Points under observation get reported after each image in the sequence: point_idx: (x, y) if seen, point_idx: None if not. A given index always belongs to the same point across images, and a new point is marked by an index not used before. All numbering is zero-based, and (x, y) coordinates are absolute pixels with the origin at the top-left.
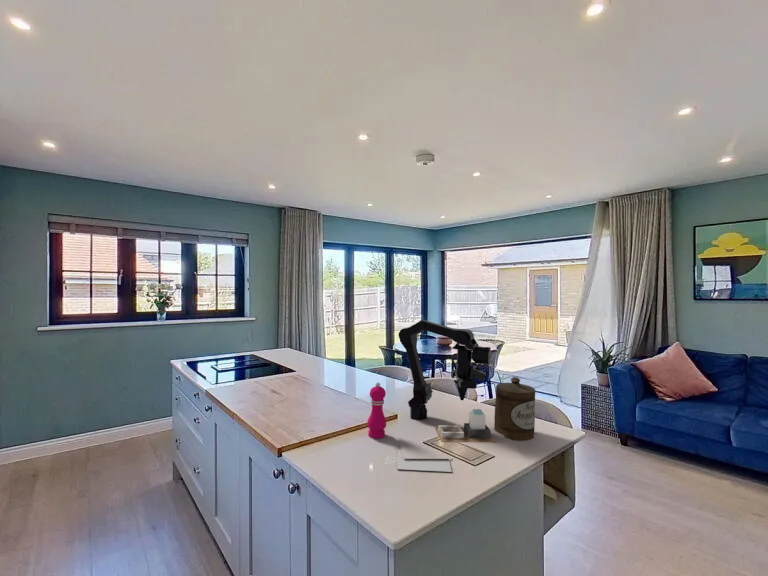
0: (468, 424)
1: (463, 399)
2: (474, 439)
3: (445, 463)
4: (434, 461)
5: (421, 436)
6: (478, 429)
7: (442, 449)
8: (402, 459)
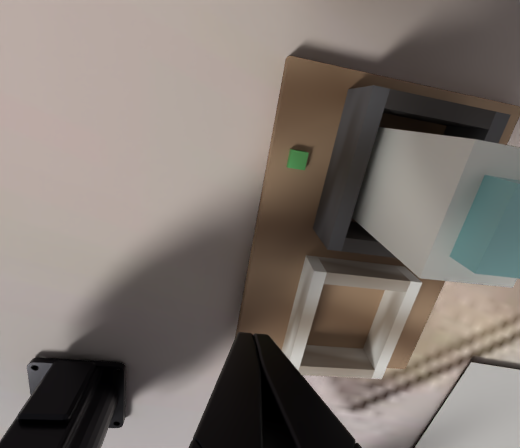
0: (348, 223)
1: (273, 343)
2: None
3: None
4: (513, 410)
5: None
6: None
7: (436, 364)
8: None
